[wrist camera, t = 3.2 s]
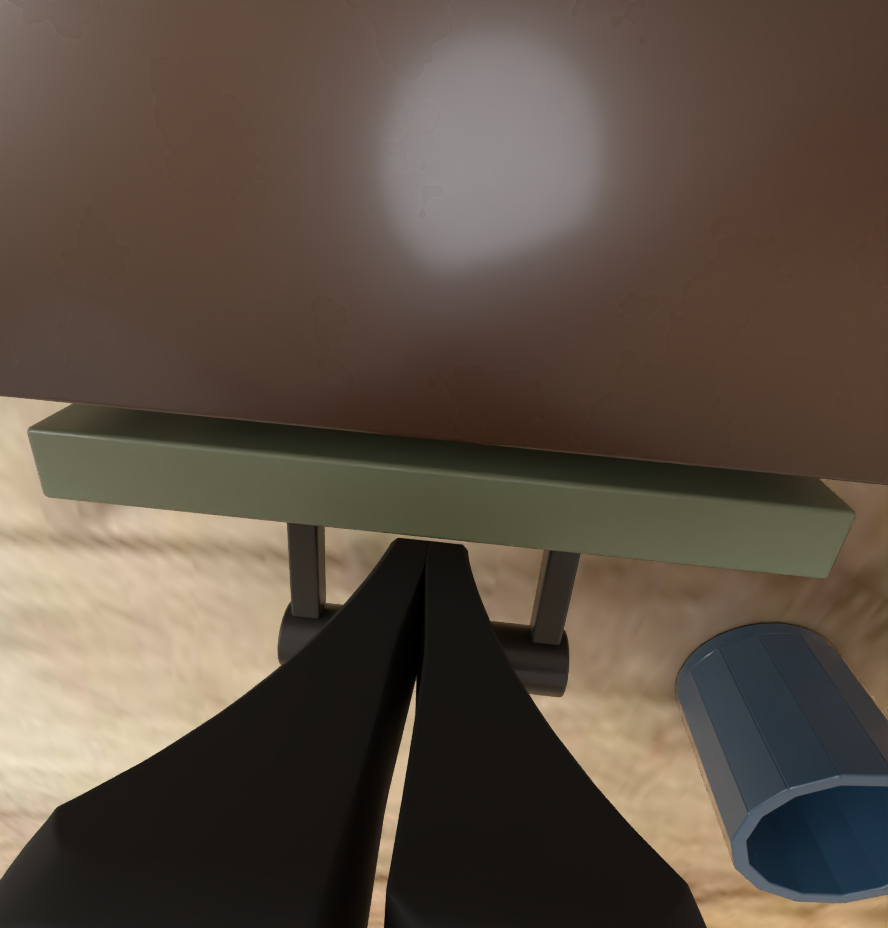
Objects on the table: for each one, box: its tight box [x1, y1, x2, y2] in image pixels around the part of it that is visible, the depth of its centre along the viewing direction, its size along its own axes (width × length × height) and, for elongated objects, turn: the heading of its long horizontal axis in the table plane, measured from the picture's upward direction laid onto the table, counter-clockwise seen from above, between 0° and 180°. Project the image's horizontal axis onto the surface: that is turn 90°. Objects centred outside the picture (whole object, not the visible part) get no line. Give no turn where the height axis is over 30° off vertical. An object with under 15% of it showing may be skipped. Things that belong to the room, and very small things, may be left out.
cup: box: [675, 623, 888, 903], centre depth 17 cm, size 5×5×5 cm
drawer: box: [27, 403, 855, 697], centre depth 10 cm, size 17×12×7 cm
